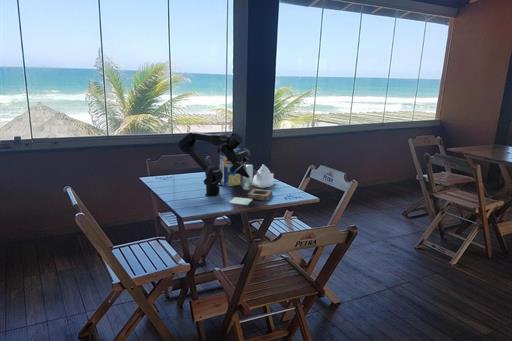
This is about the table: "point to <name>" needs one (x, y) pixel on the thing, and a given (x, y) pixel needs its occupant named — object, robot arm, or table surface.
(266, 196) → the walnut stand
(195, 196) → the table surface
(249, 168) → the steel tube
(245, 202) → the sage mat
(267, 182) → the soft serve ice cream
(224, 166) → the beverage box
